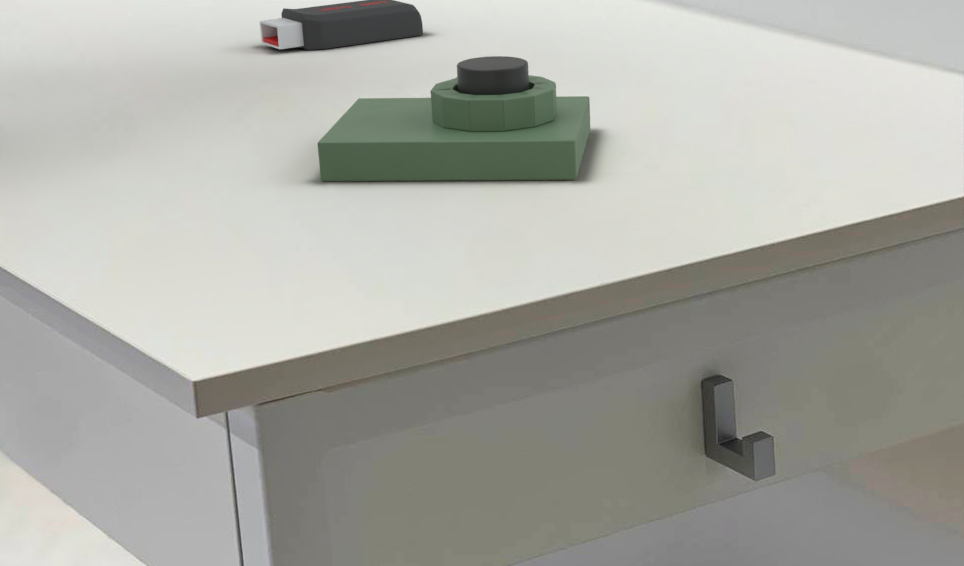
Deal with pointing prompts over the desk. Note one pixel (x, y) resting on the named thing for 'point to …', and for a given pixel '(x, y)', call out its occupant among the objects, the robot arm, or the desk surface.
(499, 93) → the button
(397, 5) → the usb drive
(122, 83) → the desk surface
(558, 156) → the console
